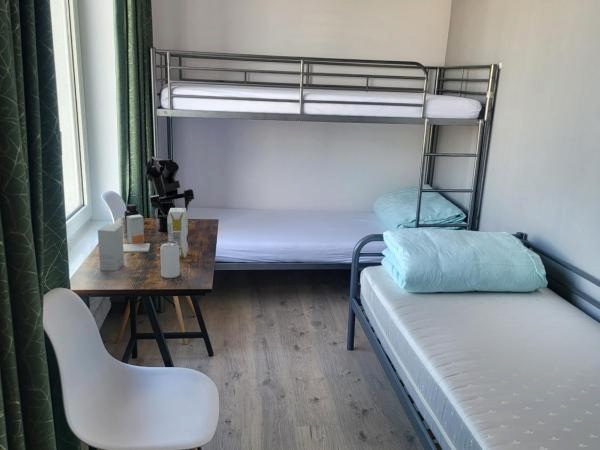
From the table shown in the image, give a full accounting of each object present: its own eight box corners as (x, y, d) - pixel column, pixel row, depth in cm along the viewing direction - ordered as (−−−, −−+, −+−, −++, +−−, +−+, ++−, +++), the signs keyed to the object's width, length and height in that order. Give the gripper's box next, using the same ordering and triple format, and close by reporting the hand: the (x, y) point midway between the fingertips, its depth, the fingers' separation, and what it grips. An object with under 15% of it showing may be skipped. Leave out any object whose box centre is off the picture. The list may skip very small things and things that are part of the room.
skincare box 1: (108, 263, 192) (105, 223, 188) (125, 264, 192) (123, 224, 188) (99, 270, 184) (96, 229, 180) (117, 271, 184) (114, 230, 180)
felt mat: (120, 245, 214) (120, 244, 214) (150, 244, 217) (149, 243, 217) (118, 252, 205) (118, 251, 205) (148, 251, 208) (148, 250, 207)
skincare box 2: (131, 245, 215) (129, 218, 212) (127, 242, 218) (125, 216, 215) (144, 242, 219) (143, 216, 216) (140, 240, 222) (139, 214, 219)
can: (162, 279, 177) (161, 246, 174) (160, 273, 183) (158, 241, 180) (181, 277, 180) (180, 245, 177) (178, 271, 186) (177, 240, 183)
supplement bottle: (127, 227, 242) (125, 203, 239) (141, 227, 243) (140, 203, 240) (123, 231, 236) (122, 206, 233) (138, 231, 236) (137, 206, 233)
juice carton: (168, 259, 199) (166, 212, 194) (170, 252, 207) (168, 207, 203) (187, 258, 200) (186, 212, 195) (189, 252, 208) (187, 207, 204)
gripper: (145, 179, 217) (151, 211, 211) (188, 171, 221) (196, 202, 215) (149, 191, 227) (155, 222, 221) (190, 183, 231) (197, 213, 225)
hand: (175, 214), depth 221 cm, fingers open, 9 cm apart
